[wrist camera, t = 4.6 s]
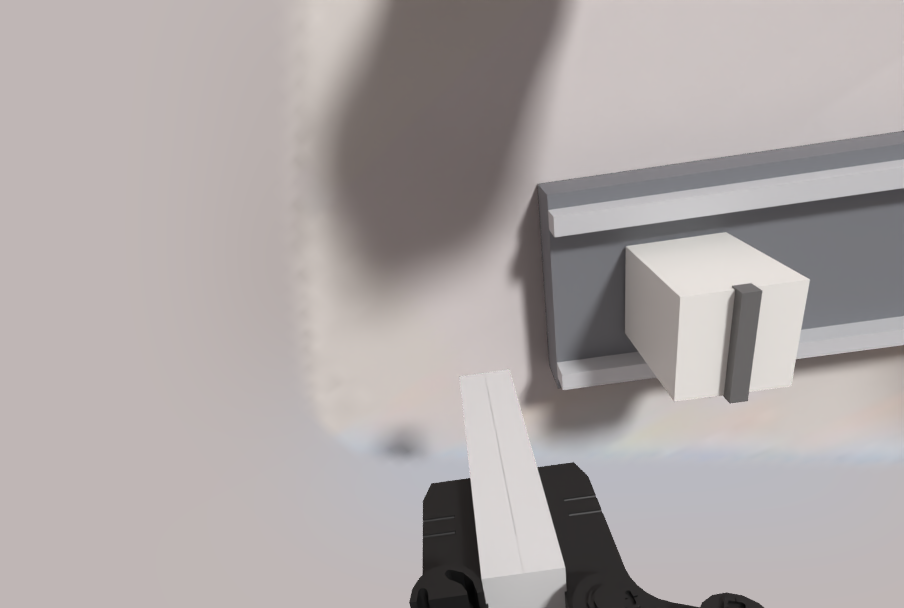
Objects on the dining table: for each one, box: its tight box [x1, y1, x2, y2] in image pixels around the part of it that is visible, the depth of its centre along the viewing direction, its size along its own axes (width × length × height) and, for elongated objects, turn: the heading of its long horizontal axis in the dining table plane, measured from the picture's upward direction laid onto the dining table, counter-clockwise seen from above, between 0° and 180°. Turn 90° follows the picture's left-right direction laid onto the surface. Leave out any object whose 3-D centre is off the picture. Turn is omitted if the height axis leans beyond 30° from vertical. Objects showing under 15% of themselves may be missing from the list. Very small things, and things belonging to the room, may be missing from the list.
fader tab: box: [625, 232, 810, 403], centre depth 19 cm, size 4×4×5 cm
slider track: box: [538, 131, 904, 390], centre depth 21 cm, size 9×27×5 cm, turn 98°
